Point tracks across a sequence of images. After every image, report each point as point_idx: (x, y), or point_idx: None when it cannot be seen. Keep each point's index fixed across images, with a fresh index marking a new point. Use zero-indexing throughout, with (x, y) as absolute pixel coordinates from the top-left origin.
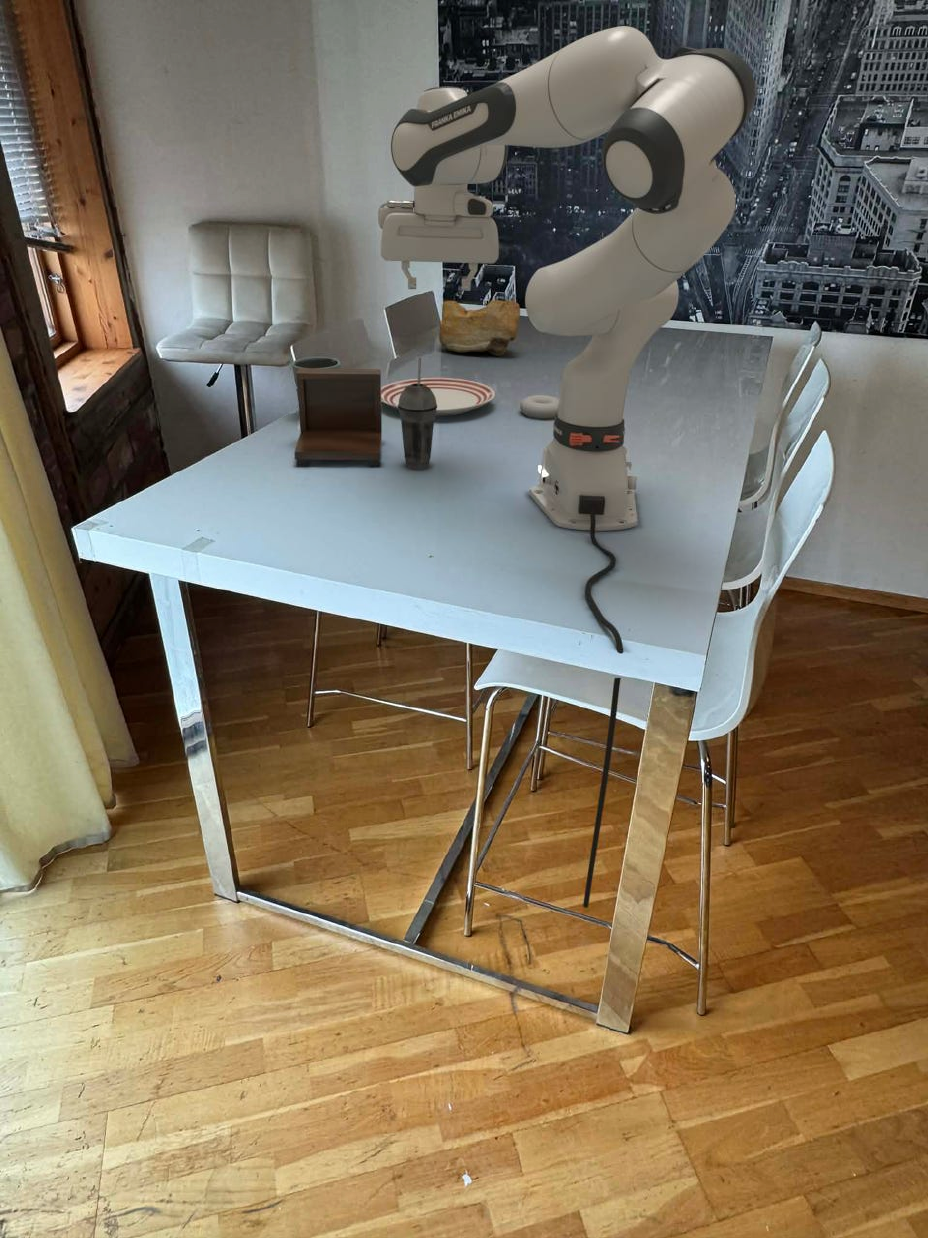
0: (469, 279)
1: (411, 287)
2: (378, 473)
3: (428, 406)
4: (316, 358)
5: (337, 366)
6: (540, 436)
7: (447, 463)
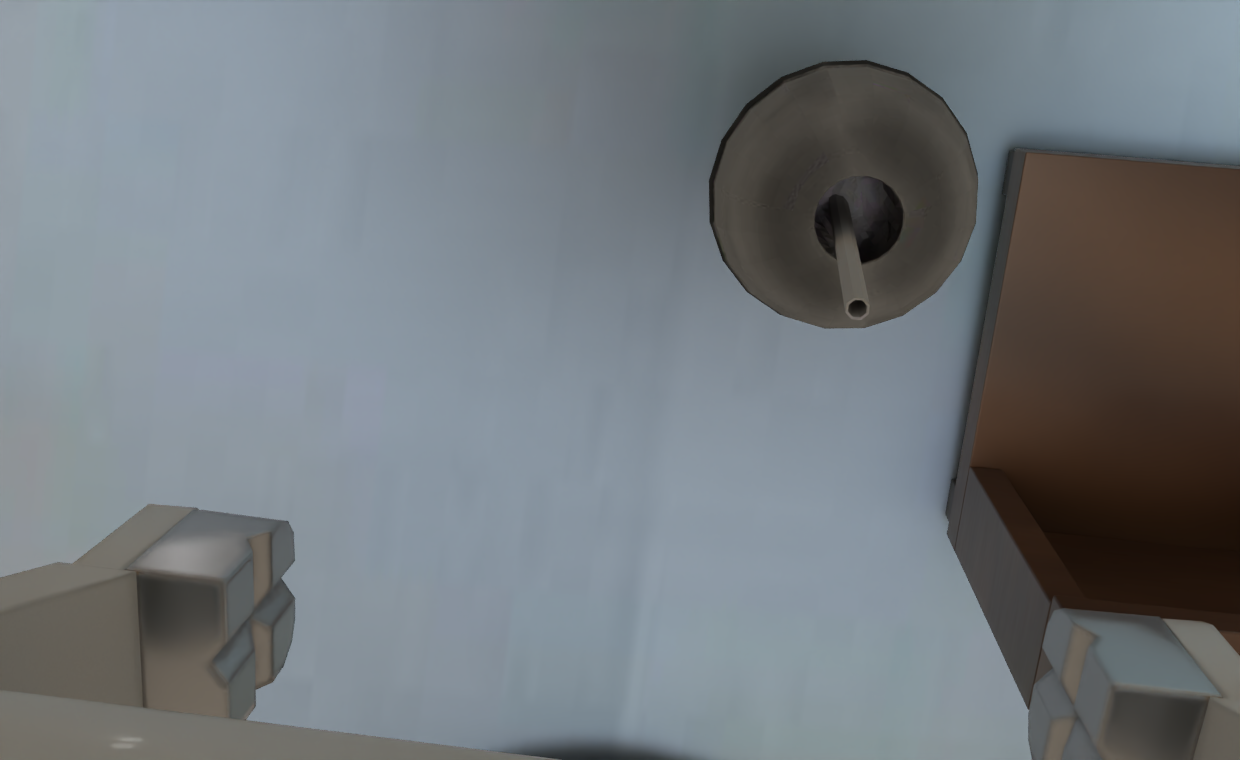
0: (88, 562)
1: (1149, 617)
2: (1030, 54)
3: (785, 86)
4: None
5: None
6: None
7: (650, 178)
